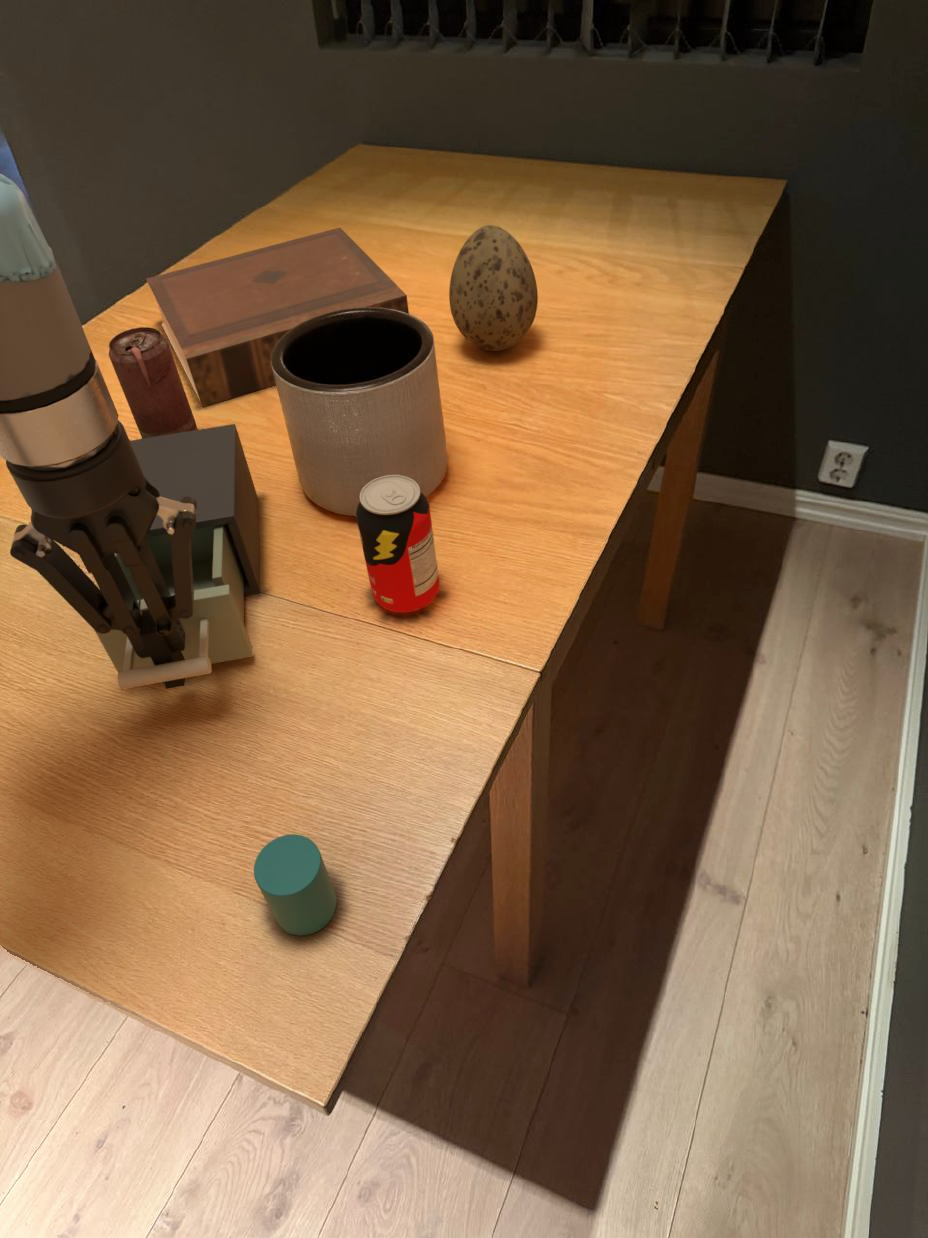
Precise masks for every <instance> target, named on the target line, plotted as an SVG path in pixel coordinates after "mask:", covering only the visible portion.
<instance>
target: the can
mask: <svg viewBox="0 0 928 1238" xmlns="http://www.w3.org/2000/svg"><path fill="white" fill-rule="evenodd" d="M168 341H169V340H167V338H166V337H165V335H163V333H161V331H160V330H159V329H157V328H155V327H149V326H142V327H141V326H139V327H134V328H130V329H127V330H124V331H122V332H120V333H118V334H116V335H115V336H114V337H112V338H111V340H110V341H109V343H108V348H109V349H108V350H109V351H108V357H109V360H110V362H111V364H112V367H113V370H114V373H115V374H116V375H115V376H116V377H117V380H118V382H119V385H120V388H121V389H122V392H123V395H124V397H125V399H126V402H127V404H128V407H129V409H130V412H131V414H132V417H133V419H134V422H135V424H136V427H137V430H138V432H139V434H140V437H141V439H144V438H150V437H157V436H163V435H169V434H175V433H181V432H188V431H194V430H199V428H198V426H197V422H196V420H195V417H194V414H193V411H192V407H191V405H190V402H189V399H188V396H187V393H186V391H185V388H184V386H183V382H182V378H181V377H180V374H179V371H178V368H177V365H176V362H175V359H174V356H173V352H172V350H171V347H170V345H169V342H168Z"/></svg>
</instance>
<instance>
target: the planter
mask: <svg viewBox="0 0 928 1238" xmlns="http://www.w3.org/2000/svg"><path fill="white" fill-rule="evenodd" d="M436 355H437V354H436V346H435V337H434V334H433V331H432V330H431V328H430V327H429V326H428V325H427V324H426V323H425V322H424V321H423V320H421V319H420V318H418V317H417V316H415V315H413V314H410V313H409V314H408V313H405V312H402V311H398V310H393V309H387V308H376V307H361V308H350V309H343V310H338V311H333V312H329V313H325V314H322V315H319V316H316V317H314V318H311V319H309V320H306V321H304V322H302V323H300V324H299V325H297V326H295V327H294V328H292V329H291V330H289V331H288V332H287V333H285V334H284V335H283V336H282V337H281V338H280V339H279V340H278V342H277V343H276V344H275V346H274V348H273V350H272V353H271V366H272V370H273V374H274V378H275V382H276V385H275V386H276V391H277V393H278V398H279V401H280V405H281V410H282V414H283V417H284V422H285V428H286V432H287V435H288V440H289V444H290V448H291V452H292V457H293V461H294V464H295V469H296V473H297V477H298V480H299V481H298V482H299V483H300V485H301V488H302V490H303V492H304V494H305V495H306V496H307V498H308V499H309V500H310V501H311V502H313V503H314V504H315V505H317V506H319V507H321V508H322V509H325V510H327V511H330V512H333V513H336V514H339V515H344V516H351V517H356V510H357V506H358V504H359V502H360V492H361V490H362V489H363V487H364V486H365V485H366V484H368V483H369V482H370V481H372V480H374V479H376V478H379V477H382V476H387V475H401V476H406V477H409V478H411V479H413V480H414V481H415V482H416V483H417V484H418V485H419V488H420V492H421V493H422V494H423V495H424V496H425V497H426V498H427V497H428V496H430V495H431V494H432V493H433V492H434V491H435V490H436V489H437V488H438V487H439V485H440V484H441V483H442V481H443V480H444V478H445V475H446V473H447V470H448V469H447V468H448V446H447V437H446V432H445V431H446V430H445V422H444V415H443V405H442V399H441V391H440V389H441V388H440V382H439V372H438V365H437V364H438V363H437V356H436Z"/></svg>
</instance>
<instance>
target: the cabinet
mask: <svg viewBox="0 0 928 1238" xmlns="http://www.w3.org/2000/svg"><path fill="white" fill-rule="evenodd" d="M129 441H130V443H131V445H132V448H133V450H134V453H135V455H136V457H137V460H138V462H139V464H140V467H141V470H142V472H143V475H144V477H145V478H146V479H147V480H148V481H149V482H150V483H151V484H152V485H153V486H155V487H156V488H157V490H158V492H159V494H160V497H164V498H167V499H171V500H174V501H178V502H179V501H180V500H181V498H183V497H192V498H194V499H195V500H196V502H197V512H196V527H195V529H199V528H205V527H211V526H217V525H223V524H228V526H229V529H230V532H231V535H232V538H233V541H234V544H235V547H236V549H237V552H238V555H239V558H240V561H241V564H242V567H243V569H244V597H245V596H249V595H254V594H260V593H261V563H260V562H261V560H260V559H261V558H260V556H261V555H260V518H259V517H260V514H259V513H260V512H259V497H258V493H257V491H256V488H255V487H256V486H255V484H254V481H253V478H252V475H251V471H250V467H249V464H248V461H247V458H246V454H245V451H244V448H243V445H242V442H241V438H240V435H239V432H238V428H237V426H236V423H231V424H226V425H225V424H224V425H221V426H213V427H207V428H201V429H198V430H194V431H188V432H181V433H175V434H169V435H163V436H157V437H150V438H144V439H142V438H138V439H132V440H129ZM164 534H168V533H167V530H166V529H164V527H163V521H162V519H161V518H160V517H159V516H157V515H156V517H155V519H154V522H153V524H152V526H151V528H150V530H149V533H148V535H147V537H152V536H158V535H164Z"/></svg>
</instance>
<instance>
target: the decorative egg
mask: <svg viewBox="0 0 928 1238" xmlns="http://www.w3.org/2000/svg"><path fill="white" fill-rule="evenodd" d="M448 293H449V294H448V296H449V298H448V299H449V301H448V302H449V309H450V312H451V316H452V319H453V322H454V324H455V326H456V328H457V329H458V331H459V333H460V334H461V335H462V336H463V337H464V338H465V339H466V340H467V341H468V342H469V343H470V344H471V345H473V346H475V347H477V348H479V349H482V350H485V351H489V352H498V351H505V350H507V349H509V348H512V347H513V346H515V345H516V344H518V343H519V342H521V340H522V339H524V337H525V336H526V335H527V334H528V332H529V331H530V329H531V327H532V325H533V323H534V321H535V318H536V314H537V310H538V300H539V298H538V297H539V293H538V285H537V280H536V275H535V272H534V269H533V267H532V263H531V262H530V259H529V257H528V255H527V254H526V252H525V250H524V248H523V247H522V246H521V244H520V243H519V242H518V241H517V239H516V238H515V237H514V236H513V235H512V234H511V233H510V232H509V231H507V230H506V229H504V228H503V227H500V226H497V225H495V224H494V225H493V224H487V225H484V226H481V227H479V228H478V229H476V230H475V231H474V232H472V233H471V235H469V237H468V238H467V239H466V240H465V242H464V243H463V245H462V246H461V248H460V250H459V252H458V254H457V256H456V258H455V261H454V264H453V267H452V270H451V275H450V281H449V291H448Z"/></svg>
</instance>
